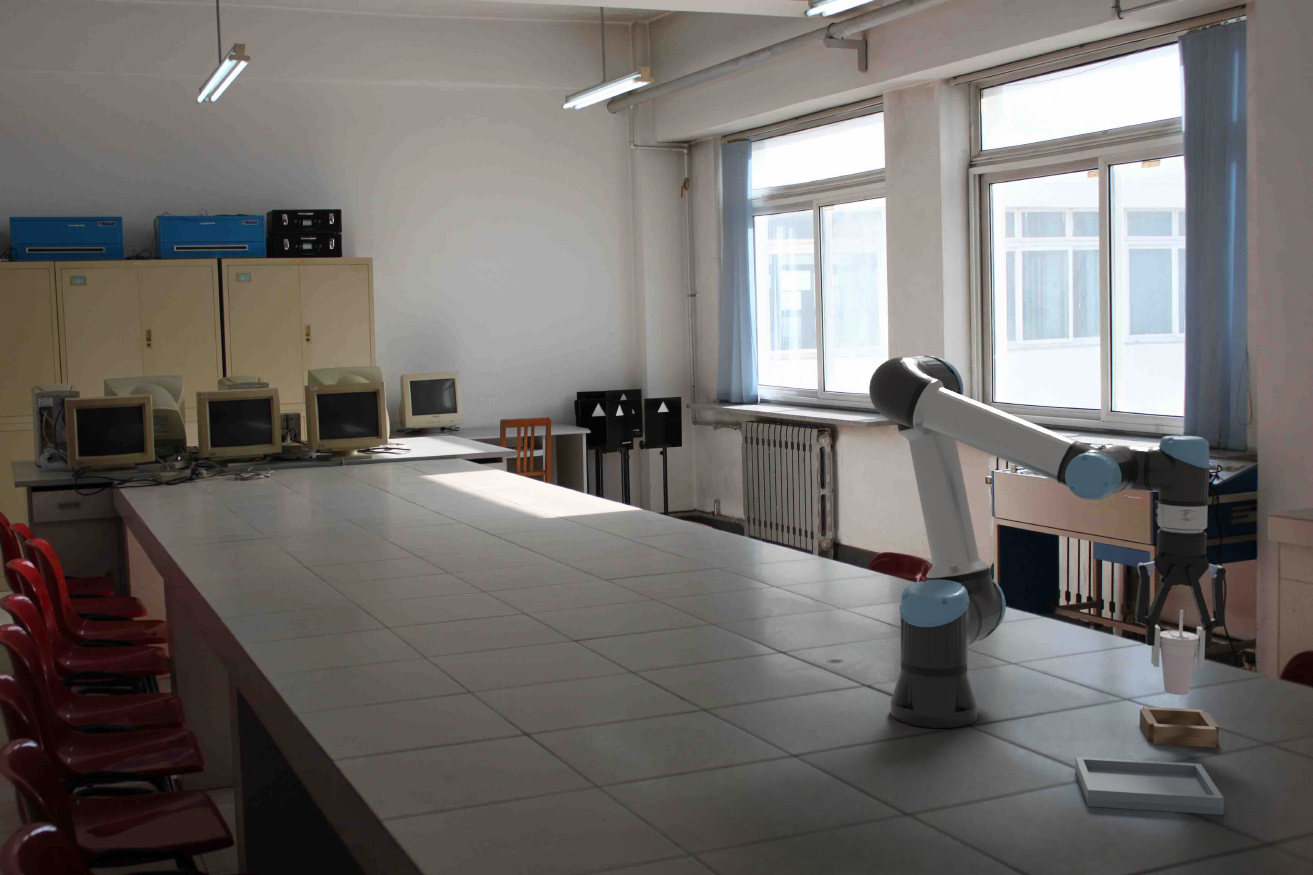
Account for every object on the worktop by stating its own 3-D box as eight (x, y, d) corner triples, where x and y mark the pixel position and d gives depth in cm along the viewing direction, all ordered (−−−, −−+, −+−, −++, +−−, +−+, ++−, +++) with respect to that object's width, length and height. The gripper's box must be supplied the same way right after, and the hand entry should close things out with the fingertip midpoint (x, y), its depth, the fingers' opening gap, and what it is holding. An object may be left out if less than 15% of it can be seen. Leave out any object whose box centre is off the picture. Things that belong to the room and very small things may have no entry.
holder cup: (1149, 743, 197) (1150, 725, 196) (1138, 723, 207) (1138, 706, 207) (1220, 747, 194) (1221, 729, 194) (1205, 726, 205) (1205, 709, 205)
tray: (1087, 805, 171) (1087, 789, 170) (1075, 771, 184) (1075, 756, 184) (1223, 814, 167) (1223, 798, 167) (1200, 779, 180) (1200, 763, 180)
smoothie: (1173, 698, 196) (1176, 614, 195) (1147, 687, 203) (1150, 606, 201) (1206, 695, 198) (1209, 612, 197) (1179, 684, 204) (1182, 604, 203)
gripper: (1124, 530, 196) (1120, 668, 198) (1251, 534, 192) (1245, 675, 194) (1117, 523, 204) (1113, 656, 206) (1238, 527, 200) (1233, 662, 202)
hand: (1177, 665), depth 200 cm, fingers closed on smoothie, 6 cm apart
